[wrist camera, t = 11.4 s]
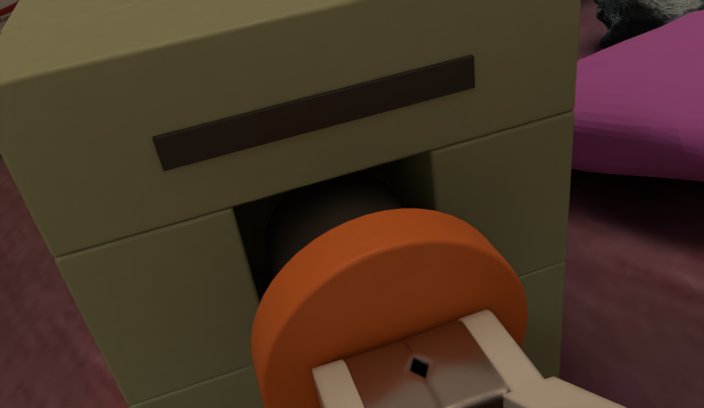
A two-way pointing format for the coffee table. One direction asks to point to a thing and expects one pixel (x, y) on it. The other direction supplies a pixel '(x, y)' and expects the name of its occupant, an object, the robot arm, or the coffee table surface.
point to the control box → (274, 155)
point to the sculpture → (639, 16)
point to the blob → (644, 105)
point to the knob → (366, 281)
